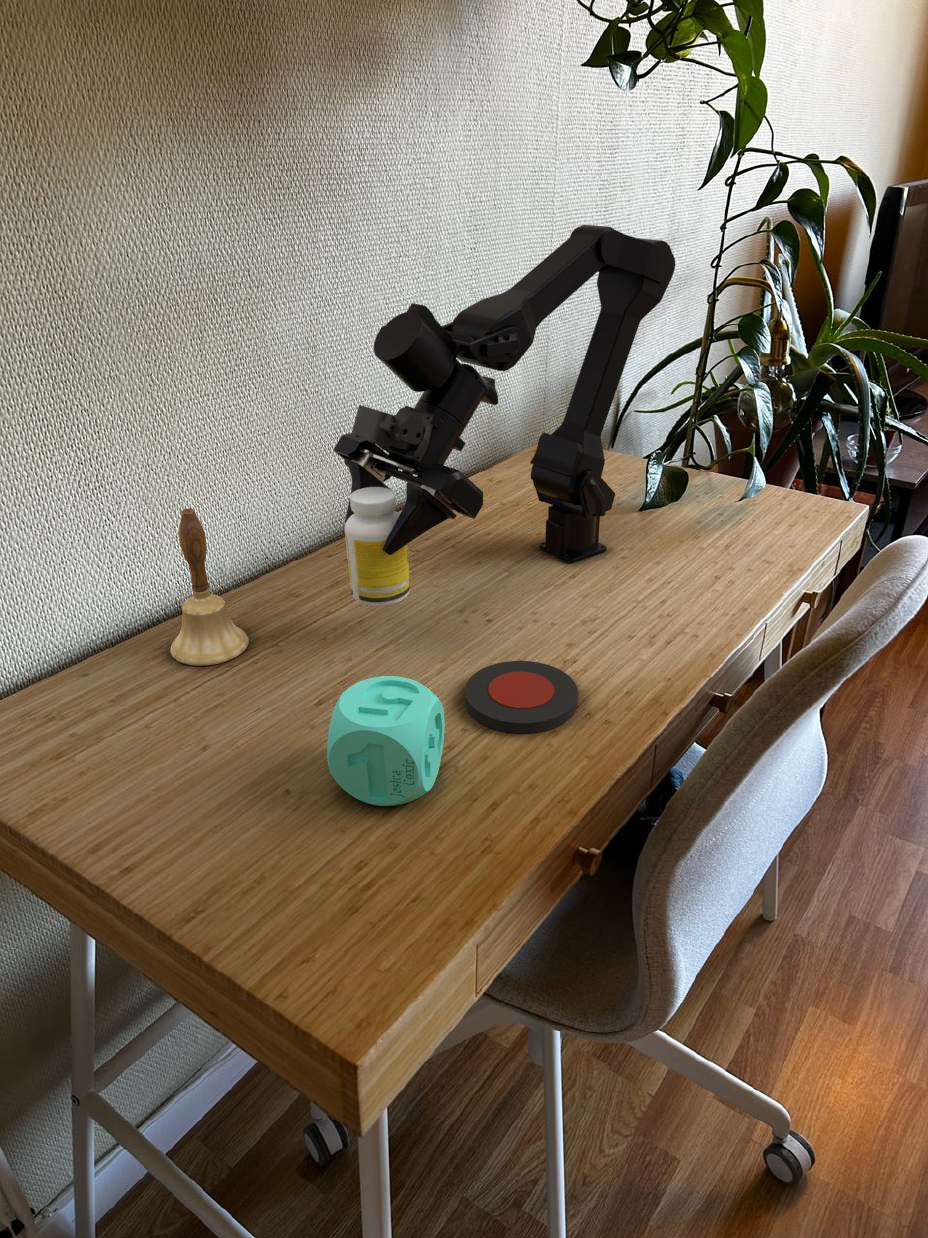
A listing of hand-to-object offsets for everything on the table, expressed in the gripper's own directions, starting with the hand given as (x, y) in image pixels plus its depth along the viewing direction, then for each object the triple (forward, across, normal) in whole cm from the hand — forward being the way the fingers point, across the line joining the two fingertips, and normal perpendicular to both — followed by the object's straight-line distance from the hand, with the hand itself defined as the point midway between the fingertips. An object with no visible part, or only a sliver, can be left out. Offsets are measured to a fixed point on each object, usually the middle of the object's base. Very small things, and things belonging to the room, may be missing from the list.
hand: (365, 543), depth 95 cm
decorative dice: (+18, +20, -2) cm, 27 cm away
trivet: (+6, +20, +10) cm, 23 cm away
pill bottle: (+4, 0, +6) cm, 7 cm away
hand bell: (+18, -11, -2) cm, 21 cm away
